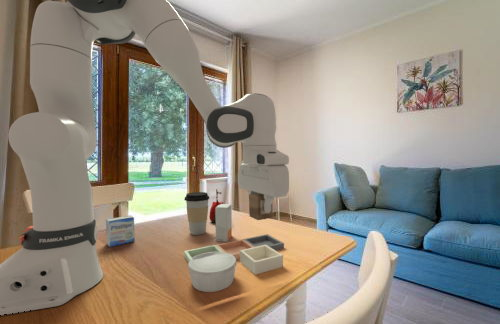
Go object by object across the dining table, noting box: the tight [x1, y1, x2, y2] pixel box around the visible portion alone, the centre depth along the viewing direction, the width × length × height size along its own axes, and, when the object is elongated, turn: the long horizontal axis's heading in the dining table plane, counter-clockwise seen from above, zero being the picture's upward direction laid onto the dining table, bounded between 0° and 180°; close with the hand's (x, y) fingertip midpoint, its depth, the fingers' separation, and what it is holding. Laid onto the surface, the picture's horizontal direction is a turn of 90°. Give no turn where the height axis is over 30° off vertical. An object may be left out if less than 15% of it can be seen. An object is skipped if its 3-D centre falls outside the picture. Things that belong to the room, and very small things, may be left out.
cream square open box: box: [239, 245, 284, 276], centre depth 64 cm, size 8×8×4 cm
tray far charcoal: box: [242, 234, 285, 251], centre depth 77 cm, size 10×10×2 cm
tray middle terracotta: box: [215, 238, 254, 261], centre depth 72 cm, size 10×10×2 cm
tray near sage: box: [183, 244, 223, 263], centre depth 68 cm, size 10×10×2 cm
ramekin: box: [187, 252, 237, 293], centre depth 56 cm, size 11×11×5 cm
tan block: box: [248, 193, 274, 221], centre depth 64 cm, size 4×5×6 cm
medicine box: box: [105, 215, 135, 248], centre depth 82 cm, size 8×4×9 cm, turn 131°
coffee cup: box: [183, 191, 210, 236], centre depth 92 cm, size 9×9×15 cm
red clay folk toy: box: [208, 188, 225, 224], centre depth 106 cm, size 8×7×15 cm
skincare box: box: [215, 203, 233, 242], centre depth 84 cm, size 6×4×12 cm
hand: (260, 209), depth 64 cm, fingers closed on tan block, 5 cm apart
